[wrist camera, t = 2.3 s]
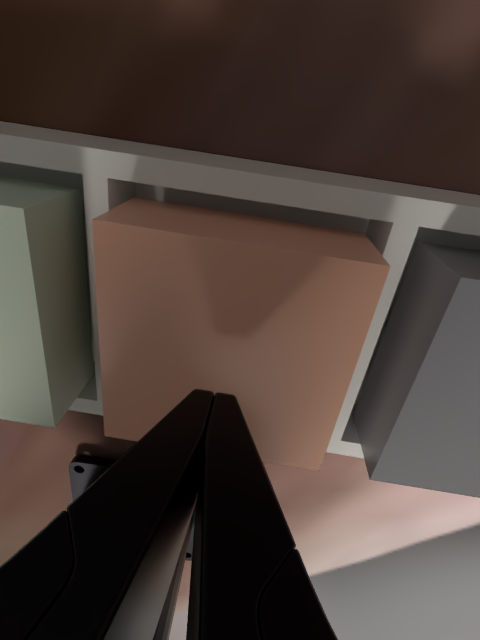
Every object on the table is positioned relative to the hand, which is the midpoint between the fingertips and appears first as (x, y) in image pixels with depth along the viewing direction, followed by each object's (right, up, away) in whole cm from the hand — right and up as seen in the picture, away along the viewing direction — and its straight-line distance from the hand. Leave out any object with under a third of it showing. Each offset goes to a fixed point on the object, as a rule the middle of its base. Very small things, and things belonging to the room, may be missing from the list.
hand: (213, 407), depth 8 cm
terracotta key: (0, +2, +3) cm, 4 cm away
